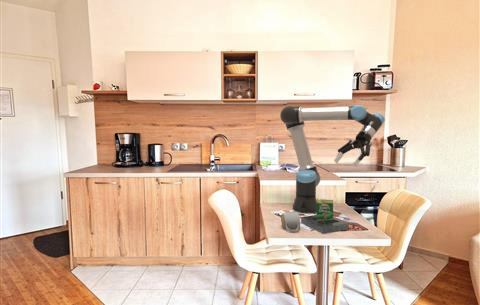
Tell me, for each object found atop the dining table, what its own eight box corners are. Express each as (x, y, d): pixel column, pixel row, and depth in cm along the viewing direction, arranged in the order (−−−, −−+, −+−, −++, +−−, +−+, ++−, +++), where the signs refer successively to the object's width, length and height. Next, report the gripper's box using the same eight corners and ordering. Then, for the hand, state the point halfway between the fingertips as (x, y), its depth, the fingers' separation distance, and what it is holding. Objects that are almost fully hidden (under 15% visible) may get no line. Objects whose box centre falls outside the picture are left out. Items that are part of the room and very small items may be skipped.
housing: (301, 222, 131) (301, 217, 131) (325, 218, 137) (325, 213, 137) (323, 234, 116) (323, 227, 116) (349, 228, 123) (349, 222, 122)
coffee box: (315, 225, 127) (316, 199, 126) (316, 223, 130) (316, 198, 129) (332, 228, 124) (333, 201, 123) (333, 226, 127) (333, 199, 126)
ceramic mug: (280, 225, 128) (280, 209, 127) (296, 224, 128) (296, 209, 128) (284, 233, 117) (285, 217, 117) (302, 233, 118) (302, 216, 117)
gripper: (388, 140, 135) (367, 170, 130) (351, 139, 158) (331, 165, 153) (382, 130, 133) (360, 160, 128) (344, 131, 156) (325, 156, 150)
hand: (344, 163), depth 140 cm, fingers open, 13 cm apart
